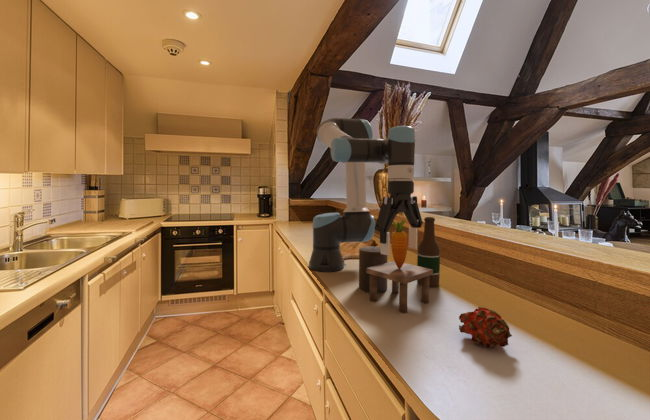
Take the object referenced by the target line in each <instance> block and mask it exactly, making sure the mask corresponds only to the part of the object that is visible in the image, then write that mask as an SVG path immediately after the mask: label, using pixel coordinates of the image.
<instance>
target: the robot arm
mask: <svg viewBox="0 0 650 420" xmlns="http://www.w3.org/2000/svg"><path fill="white" fill-rule="evenodd" d="M415 132H416V131H415V128H414V127H413V126H409V125H397V126H393V127H390V128H389V130H388V135H387V138H374V135H373V128H372V124H371V123H370V122H369V121H368V120H366V119H362V118H344V117H343V118H340V117H331V118H328V119H326V120H324V121H322V122H321V123H320V124H319V125H318V126H317V129H316V138H317V140H318V141H319V143H320V144H321V145H323V146H326V147H328V148H329V149H330V157H331V160H332V161H333V162H335V163H336V162H337V163H338V162H339V163H342V164H343V163H345V194H346V195H345V197H346V208H345V209H344V210H343V215H341V213H339V212H326V213H325V212H324V213H320V214H317V215H315V216H314V217H313V218H312V252H311V255H310V259H309V261H308V268H309V269H310V270H312V271H315V272H325V273H326V272H327V273H329V272H330V273H331V272H337V271H342V270H343V269H344V268H345V262H344V260H343V255H342V252H341V243H343V244H344V243H362V242H368V241H371V239H372V238H373V237H374V234H375V231H376V232H379V243H380V247H381V254H384V255H388V256H390V253H391V252H390V251H391V250H390V249H391V247H390V246H391V232H389V230H390V228H391V226H392V224H393V221H395V218H396V217H397V215H398V214H399V213H403V214H404V216H405V218H406V220H407V222H408V224H409V225H410V226H409V227H408V245H407V249H408V248H409V249H414V250H418V234H419V229H421V228H422V225H423V219H422V215H421V212H420V208H419V204H418V196H416V195H412V194H414V192H415V182H414V181H413V180H414V179H415V152H416V151H415V150H416V139H415V137H416V136H415V134H416V133H415ZM366 163H373V164H374V163H378V164H381V165H382V164H387V180H389V181H388V182H387V193H388V194H389V195H390V196H383V197H382V201H381V207H380V210H379V213H378V216H377V218H376V219H375V217H374V215H372V214H371V211H370V209H368V208H367V190H366V189H367V188H366V186H367V184H366Z"/></svg>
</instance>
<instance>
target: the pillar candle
mask: <svg viewBox="0 0 650 420" xmlns="http://www.w3.org/2000/svg"><path fill="white" fill-rule="evenodd" d="M358 257H359V258H358V289H359V290H360V291H363V292H367V293H369V294H370V274H368V273H366V268H369V267H373V266H377V265H381V264H384V263H388V257H389V255H384V254H381V246H374V245H371V246H362V247H359V249H358ZM387 290H388V279H385V278H382V277H379V276H377V294H378V293H384V292H385V291H387Z"/></svg>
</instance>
